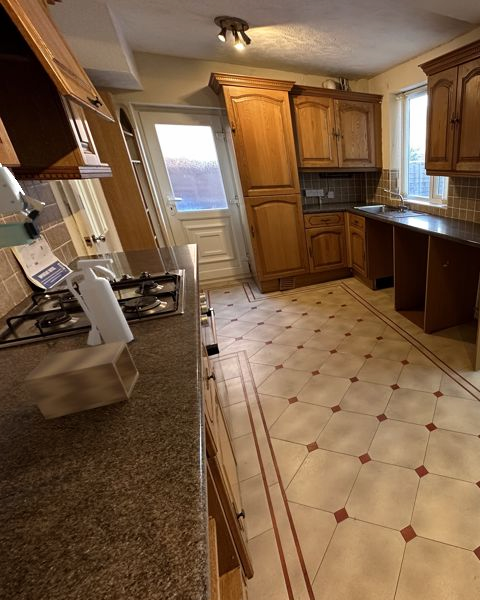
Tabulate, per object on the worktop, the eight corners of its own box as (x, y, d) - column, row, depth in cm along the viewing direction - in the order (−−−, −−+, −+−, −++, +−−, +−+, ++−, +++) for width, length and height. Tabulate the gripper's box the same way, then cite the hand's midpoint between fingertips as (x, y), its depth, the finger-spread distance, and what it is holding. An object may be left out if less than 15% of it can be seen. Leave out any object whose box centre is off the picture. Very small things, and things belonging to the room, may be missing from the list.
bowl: (-15, 249, 73) (-26, 229, 72) (3, 242, 79) (-7, 224, 77) (28, 245, 76) (18, 226, 74) (42, 239, 82) (34, 221, 80)
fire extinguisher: (93, 342, 95) (55, 261, 85) (143, 332, 100) (113, 254, 90) (85, 353, 89) (44, 268, 79) (138, 342, 95) (106, 260, 84)
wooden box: (46, 419, 67) (22, 381, 63) (66, 391, 75) (46, 355, 71) (128, 399, 72) (112, 362, 68) (139, 374, 80) (125, 340, 76)
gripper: (-103, 161, 64) (-50, 248, 71) (18, 159, 71) (54, 239, 78) (-74, 161, 70) (-28, 241, 77) (34, 159, 77) (67, 233, 84)
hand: (13, 239), depth 77 cm, fingers closed on bowl, 7 cm apart
